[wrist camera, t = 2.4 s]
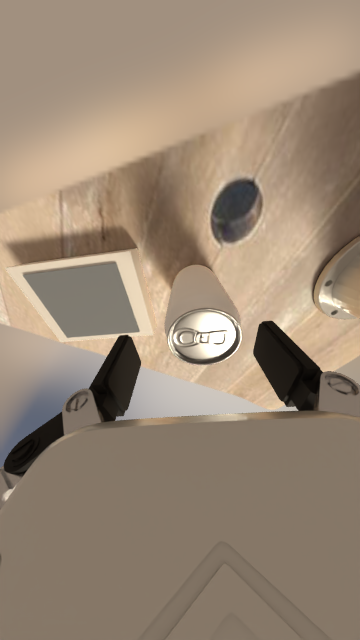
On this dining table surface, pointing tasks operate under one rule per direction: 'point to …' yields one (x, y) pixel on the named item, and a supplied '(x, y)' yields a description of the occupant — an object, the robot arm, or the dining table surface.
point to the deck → (89, 295)
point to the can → (201, 318)
